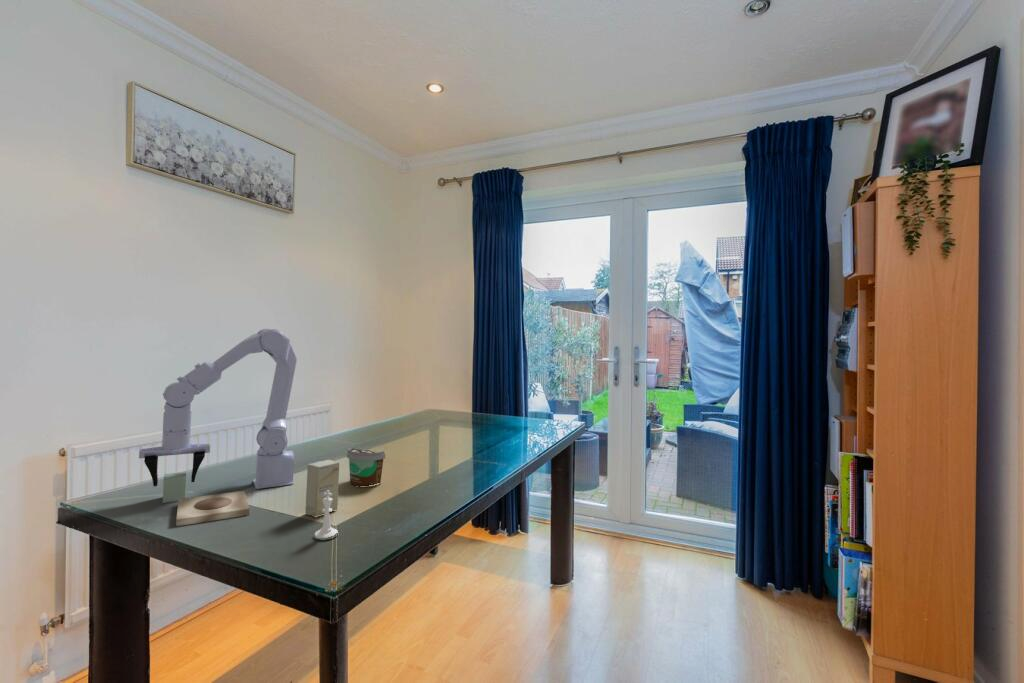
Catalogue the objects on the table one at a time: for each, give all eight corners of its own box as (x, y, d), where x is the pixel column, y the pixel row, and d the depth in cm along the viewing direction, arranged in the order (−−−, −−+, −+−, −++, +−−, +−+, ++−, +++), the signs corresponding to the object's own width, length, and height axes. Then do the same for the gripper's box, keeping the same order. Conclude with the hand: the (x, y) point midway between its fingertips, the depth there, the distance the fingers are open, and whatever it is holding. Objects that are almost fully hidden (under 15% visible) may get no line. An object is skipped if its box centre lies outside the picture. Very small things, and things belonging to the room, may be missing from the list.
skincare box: (315, 518, 109) (317, 467, 109) (304, 514, 111) (306, 463, 111) (338, 510, 114) (340, 461, 114) (327, 506, 116) (329, 458, 116)
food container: (336, 484, 133) (337, 450, 133) (350, 478, 139) (352, 445, 139) (370, 491, 128) (371, 456, 128) (384, 485, 134) (385, 451, 134)
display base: (244, 496, 121) (244, 489, 120) (249, 514, 109) (249, 507, 109) (178, 505, 113) (178, 498, 113) (176, 526, 101) (176, 518, 101)
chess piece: (329, 542, 97) (331, 495, 97) (308, 539, 98) (310, 492, 98) (342, 532, 102) (344, 488, 102) (322, 530, 103) (324, 485, 103)
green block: (185, 494, 120) (186, 471, 120) (184, 499, 116) (185, 476, 116) (163, 497, 118) (164, 473, 117) (162, 502, 114) (163, 478, 114)
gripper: (138, 435, 109) (136, 492, 109) (211, 430, 118) (208, 483, 118) (141, 429, 115) (139, 483, 115) (210, 425, 123) (208, 476, 123)
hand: (174, 483), depth 117 cm, fingers open, 7 cm apart
